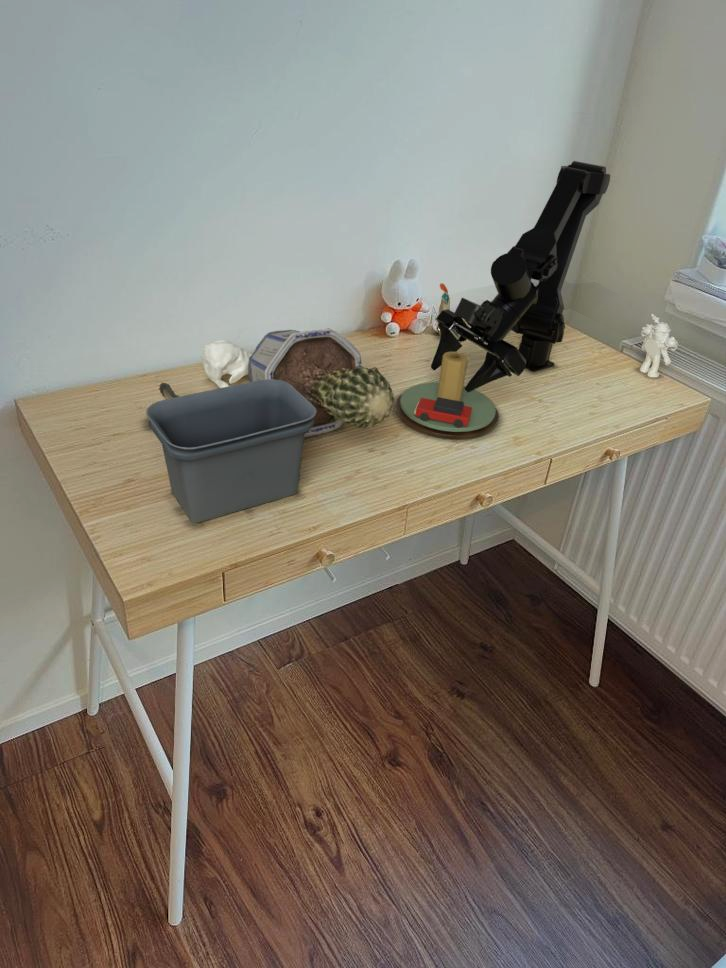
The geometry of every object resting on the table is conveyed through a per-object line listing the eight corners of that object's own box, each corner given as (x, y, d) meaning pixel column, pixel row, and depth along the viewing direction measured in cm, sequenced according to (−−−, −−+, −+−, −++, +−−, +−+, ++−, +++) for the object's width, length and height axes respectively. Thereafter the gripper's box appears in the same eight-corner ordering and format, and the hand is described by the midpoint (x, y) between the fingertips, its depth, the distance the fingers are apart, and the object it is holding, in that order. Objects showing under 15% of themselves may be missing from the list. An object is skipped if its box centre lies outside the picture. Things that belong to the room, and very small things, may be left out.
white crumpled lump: (198, 336, 135) (257, 330, 142) (196, 380, 140) (254, 372, 147) (214, 350, 131) (275, 343, 138) (212, 395, 136) (271, 386, 143)
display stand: (450, 380, 148) (450, 377, 148) (519, 423, 137) (520, 419, 136) (374, 403, 139) (375, 399, 138) (442, 450, 127) (443, 446, 127)
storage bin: (181, 542, 103) (174, 451, 94) (142, 482, 113) (133, 396, 105) (320, 501, 113) (325, 416, 105) (273, 450, 123) (274, 369, 115)
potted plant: (226, 325, 126) (326, 354, 103) (318, 313, 136) (428, 337, 113) (235, 428, 133) (331, 476, 110) (322, 409, 142) (427, 450, 119)
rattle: (469, 346, 163) (477, 294, 156) (430, 340, 164) (438, 288, 157) (472, 333, 169) (481, 282, 162) (435, 327, 170) (442, 276, 163)
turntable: (410, 378, 145) (416, 329, 140) (499, 395, 143) (509, 346, 137) (390, 420, 132) (396, 368, 126) (489, 440, 129) (499, 387, 123)
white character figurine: (627, 364, 161) (643, 310, 154) (641, 362, 163) (658, 308, 156) (656, 384, 154) (674, 328, 148) (671, 381, 156) (690, 326, 149)
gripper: (451, 264, 133) (393, 334, 134) (527, 301, 121) (463, 379, 121) (478, 300, 141) (423, 366, 142) (551, 339, 129) (492, 411, 130)
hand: (448, 379), depth 134 cm, fingers open, 9 cm apart
